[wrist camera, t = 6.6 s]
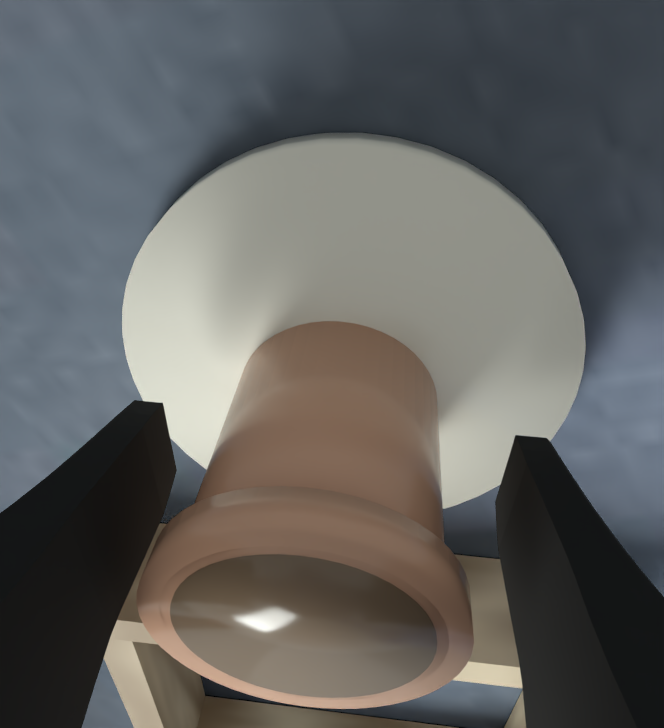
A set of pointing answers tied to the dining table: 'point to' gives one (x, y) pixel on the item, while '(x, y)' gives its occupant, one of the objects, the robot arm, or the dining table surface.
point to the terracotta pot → (318, 533)
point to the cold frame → (284, 723)
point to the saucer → (360, 290)
